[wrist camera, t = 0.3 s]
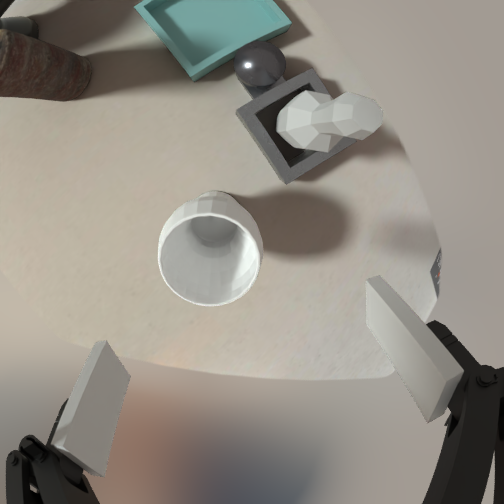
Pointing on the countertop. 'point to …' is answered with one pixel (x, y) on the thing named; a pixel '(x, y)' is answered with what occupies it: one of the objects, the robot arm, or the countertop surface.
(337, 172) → the countertop surface
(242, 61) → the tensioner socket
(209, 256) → the cup
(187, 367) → the countertop surface
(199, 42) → the tray
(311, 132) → the grey faceted bottle
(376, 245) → the countertop surface
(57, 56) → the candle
